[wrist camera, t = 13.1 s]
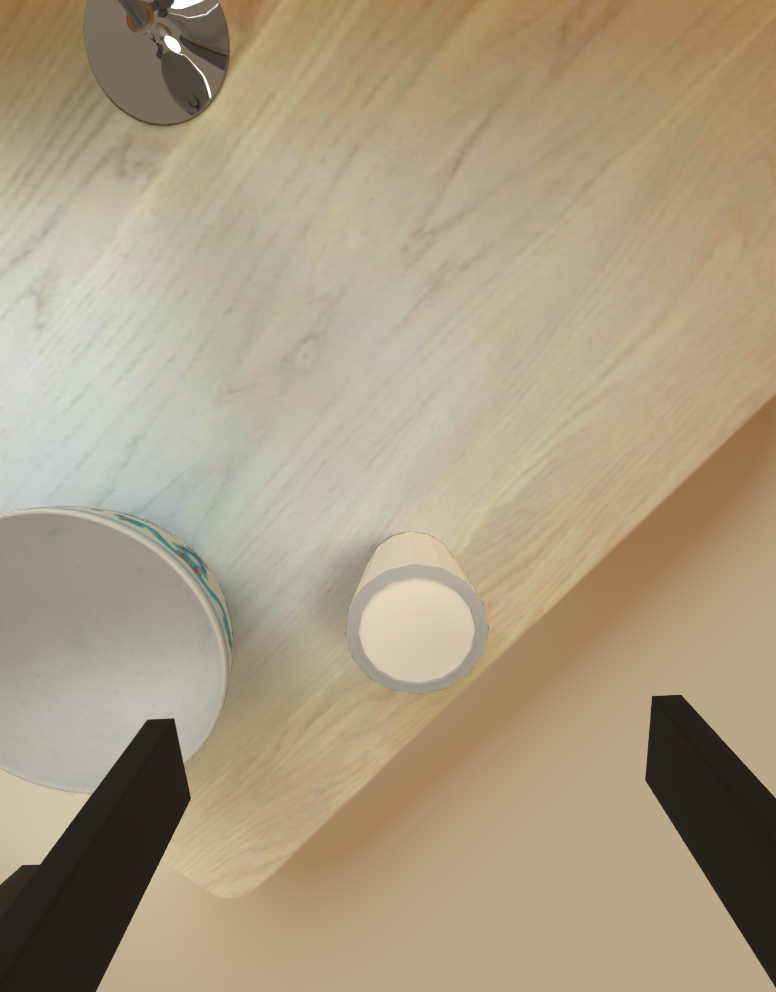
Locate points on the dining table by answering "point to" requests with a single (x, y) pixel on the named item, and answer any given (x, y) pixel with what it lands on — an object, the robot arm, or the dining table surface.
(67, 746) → the chinaware
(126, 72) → the wine glass
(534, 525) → the dining table surface
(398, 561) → the shot glass
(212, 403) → the dining table surface
